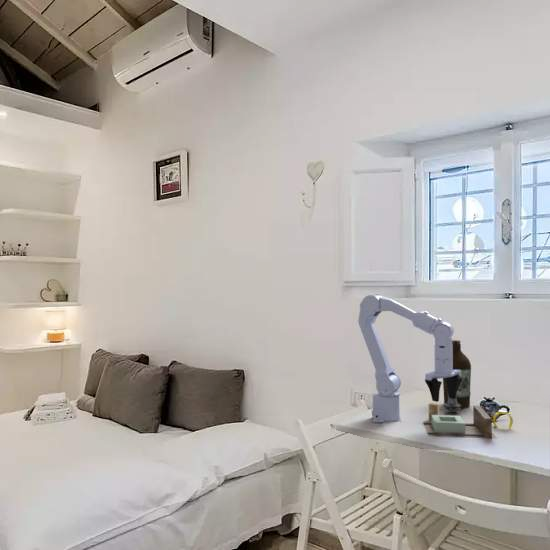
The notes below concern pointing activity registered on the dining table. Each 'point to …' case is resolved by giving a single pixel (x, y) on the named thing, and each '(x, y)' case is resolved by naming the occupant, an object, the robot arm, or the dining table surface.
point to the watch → (502, 413)
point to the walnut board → (469, 427)
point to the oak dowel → (432, 410)
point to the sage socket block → (448, 424)
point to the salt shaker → (452, 405)
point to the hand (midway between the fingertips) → (443, 399)
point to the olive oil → (464, 365)
